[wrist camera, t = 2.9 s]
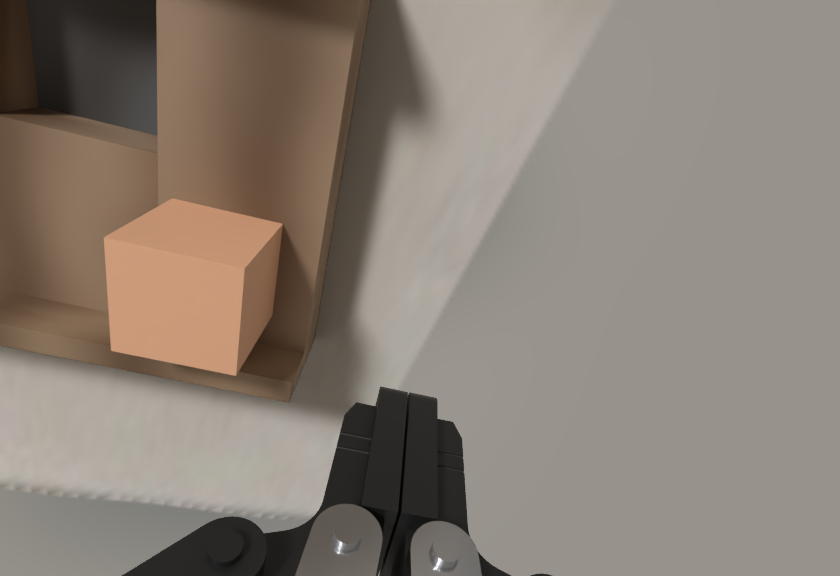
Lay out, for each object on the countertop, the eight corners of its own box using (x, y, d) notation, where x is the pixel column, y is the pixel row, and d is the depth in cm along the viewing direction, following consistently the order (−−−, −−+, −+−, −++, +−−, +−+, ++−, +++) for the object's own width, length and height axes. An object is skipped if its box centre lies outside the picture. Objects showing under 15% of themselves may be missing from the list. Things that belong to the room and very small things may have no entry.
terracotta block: (171, 294, 19) (111, 350, 15) (172, 198, 17) (103, 237, 13) (272, 315, 19) (236, 375, 16) (283, 223, 17) (244, 268, 14)
